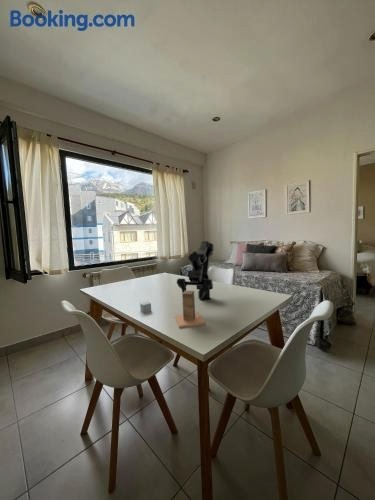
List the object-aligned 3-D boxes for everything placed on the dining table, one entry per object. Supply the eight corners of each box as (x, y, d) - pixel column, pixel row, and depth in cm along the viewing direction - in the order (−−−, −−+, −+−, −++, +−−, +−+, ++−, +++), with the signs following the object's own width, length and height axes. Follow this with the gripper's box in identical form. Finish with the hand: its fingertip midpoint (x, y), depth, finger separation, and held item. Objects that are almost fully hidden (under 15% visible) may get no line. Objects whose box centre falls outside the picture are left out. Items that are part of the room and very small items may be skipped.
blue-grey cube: (148, 308, 116) (147, 301, 115) (151, 311, 112) (150, 303, 111) (140, 310, 113) (140, 302, 113) (143, 313, 109) (142, 305, 109)
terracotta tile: (198, 314, 105) (198, 312, 105) (205, 324, 93) (205, 322, 93) (175, 317, 103) (175, 315, 102) (179, 327, 91) (179, 325, 91)
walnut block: (186, 316, 100) (185, 290, 99) (195, 317, 99) (194, 290, 98) (183, 320, 96) (182, 293, 95) (192, 321, 95) (191, 293, 94)
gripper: (176, 263, 109) (170, 289, 100) (211, 263, 104) (207, 291, 94) (182, 274, 117) (176, 300, 108) (214, 275, 112) (211, 302, 102)
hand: (192, 298), depth 103 cm, fingers open, 9 cm apart
